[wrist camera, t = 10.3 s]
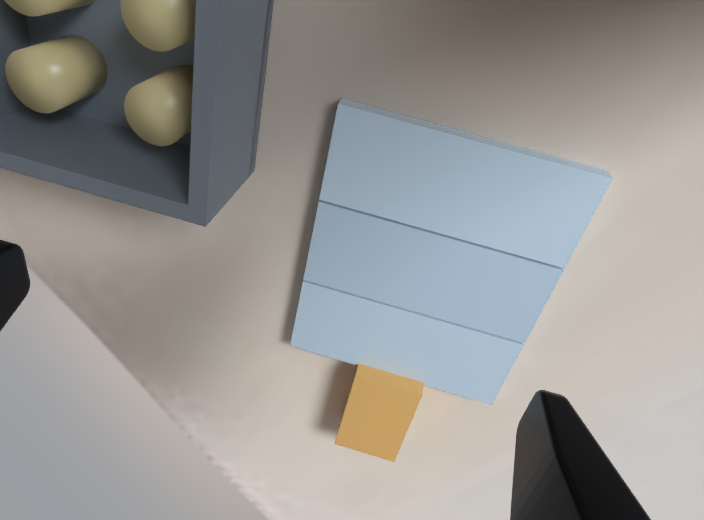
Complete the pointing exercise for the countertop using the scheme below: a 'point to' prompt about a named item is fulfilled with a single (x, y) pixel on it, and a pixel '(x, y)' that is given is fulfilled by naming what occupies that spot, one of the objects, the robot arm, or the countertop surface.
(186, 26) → the tub
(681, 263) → the countertop surface
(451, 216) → the lid
